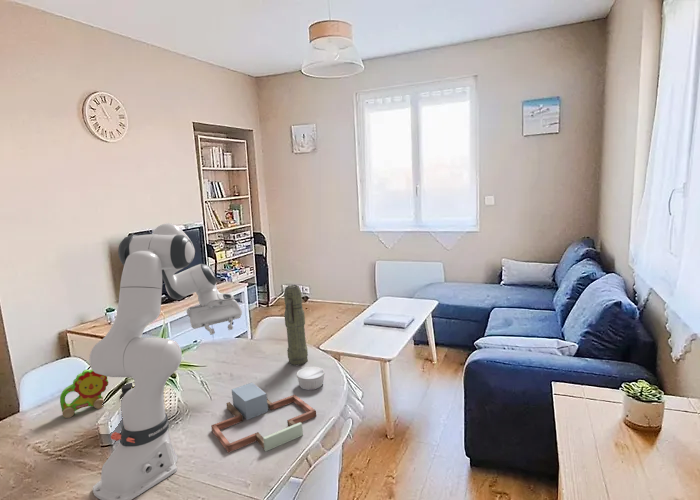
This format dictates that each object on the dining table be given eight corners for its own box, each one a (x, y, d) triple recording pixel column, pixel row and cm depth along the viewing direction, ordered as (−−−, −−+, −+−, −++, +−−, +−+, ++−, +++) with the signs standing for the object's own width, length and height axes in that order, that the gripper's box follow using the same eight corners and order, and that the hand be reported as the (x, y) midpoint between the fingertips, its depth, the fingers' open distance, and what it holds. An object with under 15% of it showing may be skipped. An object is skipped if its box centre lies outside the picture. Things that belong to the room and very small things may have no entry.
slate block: (233, 407, 159) (231, 389, 158) (253, 399, 164) (251, 382, 162) (247, 420, 149) (245, 401, 148) (268, 411, 154) (266, 393, 153)
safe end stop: (264, 449, 132) (263, 437, 131) (301, 433, 139) (300, 422, 138) (266, 451, 131) (264, 439, 130) (303, 435, 138) (302, 423, 137)
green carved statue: (285, 367, 191) (278, 290, 185) (291, 356, 202) (285, 283, 197) (305, 366, 190) (299, 289, 184) (310, 356, 201) (304, 282, 196)
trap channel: (201, 417, 153) (200, 411, 153) (281, 388, 170) (280, 384, 170) (235, 462, 127) (234, 455, 126) (325, 423, 144) (324, 417, 144)
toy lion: (63, 420, 157) (56, 380, 154) (62, 414, 161) (55, 375, 159) (112, 405, 166) (106, 367, 163) (110, 399, 170) (104, 363, 168)
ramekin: (321, 392, 166) (320, 379, 165) (293, 390, 168) (292, 378, 168) (328, 378, 177) (327, 366, 176) (302, 378, 179) (301, 366, 178)
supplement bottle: (128, 424, 151) (123, 391, 149) (118, 418, 155) (114, 387, 154) (147, 415, 157) (142, 383, 155) (137, 410, 161) (133, 379, 159)
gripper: (186, 303, 170) (196, 334, 163) (236, 293, 181) (247, 321, 175) (184, 312, 174) (194, 342, 168) (233, 301, 186) (244, 329, 179)
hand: (222, 331), depth 171 cm, fingers open, 6 cm apart
